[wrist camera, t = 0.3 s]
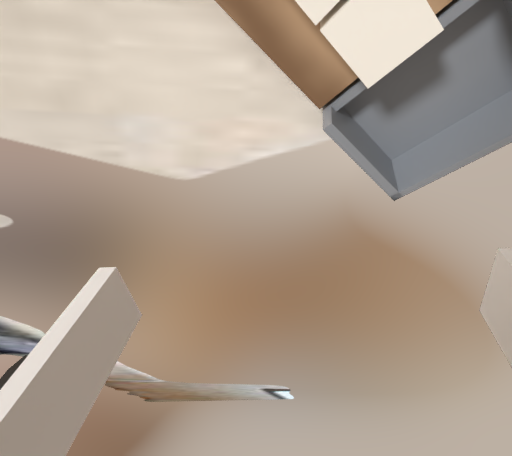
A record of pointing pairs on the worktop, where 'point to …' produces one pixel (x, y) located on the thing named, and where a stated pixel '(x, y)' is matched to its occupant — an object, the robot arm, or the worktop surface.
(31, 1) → the worktop surface
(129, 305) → the robot arm
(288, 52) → the board
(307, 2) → the tile
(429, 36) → the tile
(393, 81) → the tray
